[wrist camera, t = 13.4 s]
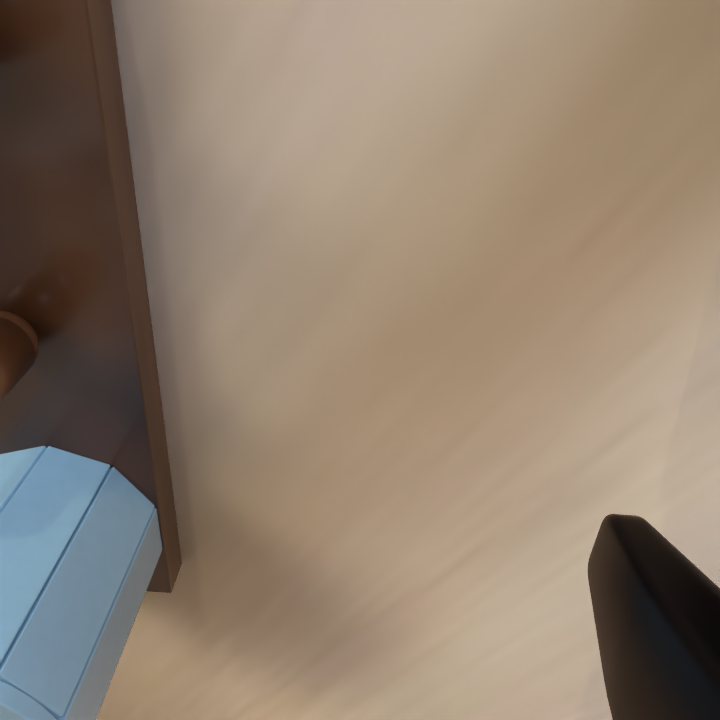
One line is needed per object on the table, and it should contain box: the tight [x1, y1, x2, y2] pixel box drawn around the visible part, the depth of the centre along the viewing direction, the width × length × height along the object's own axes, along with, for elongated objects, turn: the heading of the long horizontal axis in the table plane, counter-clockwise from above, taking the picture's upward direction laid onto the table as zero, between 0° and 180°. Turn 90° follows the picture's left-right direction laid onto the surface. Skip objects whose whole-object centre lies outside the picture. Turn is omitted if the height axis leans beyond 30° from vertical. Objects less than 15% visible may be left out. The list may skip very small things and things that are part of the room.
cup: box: [0, 446, 162, 720], centre depth 20 cm, size 7×7×8 cm
